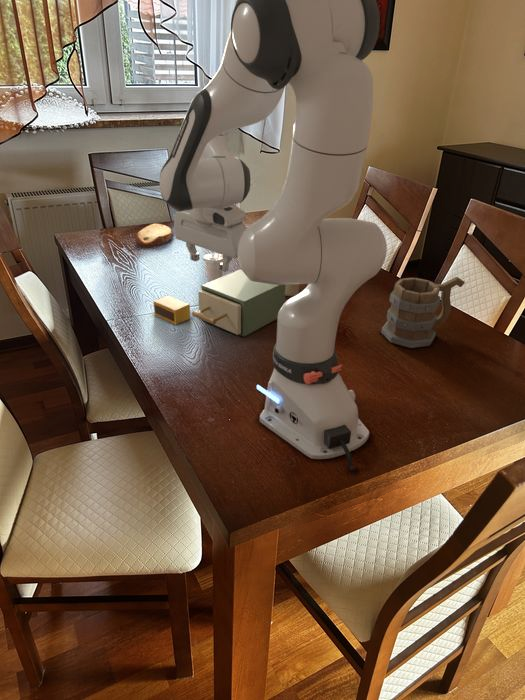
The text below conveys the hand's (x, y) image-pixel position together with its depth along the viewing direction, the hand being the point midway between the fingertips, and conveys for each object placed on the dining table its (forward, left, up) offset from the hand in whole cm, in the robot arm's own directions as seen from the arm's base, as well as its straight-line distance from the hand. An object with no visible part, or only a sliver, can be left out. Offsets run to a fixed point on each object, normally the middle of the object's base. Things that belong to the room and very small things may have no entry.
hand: (209, 265), depth 127 cm
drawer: (+1, -6, -17) cm, 18 cm away
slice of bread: (+77, -13, -18) cm, 80 cm away
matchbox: (+12, +6, -18) cm, 22 cm away
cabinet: (+3, -11, -18) cm, 21 cm away
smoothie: (+25, -13, -18) cm, 33 cm away
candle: (+11, -31, -18) cm, 38 cm away
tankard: (-27, -47, -18) cm, 57 cm away
